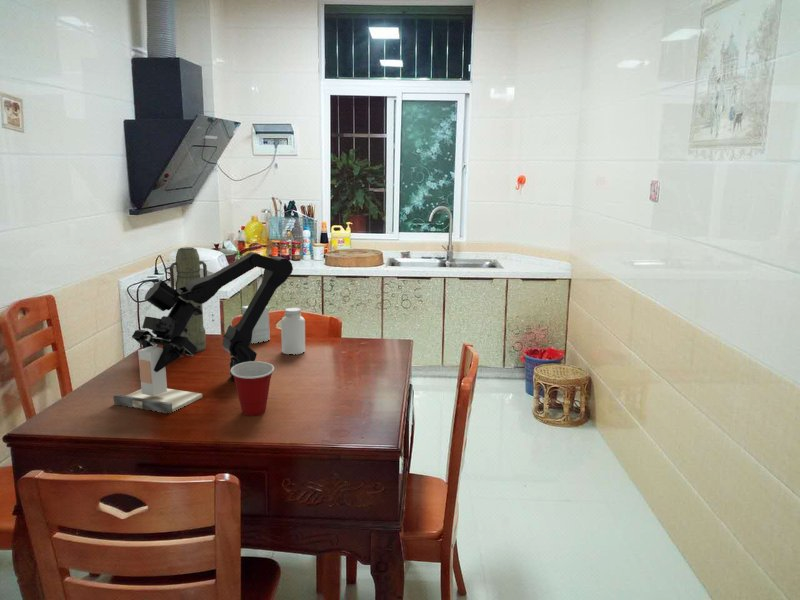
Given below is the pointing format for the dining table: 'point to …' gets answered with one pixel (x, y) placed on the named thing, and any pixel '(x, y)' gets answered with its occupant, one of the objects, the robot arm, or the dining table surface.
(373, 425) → the dining table surface
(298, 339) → the pill bottle
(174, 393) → the shelf board
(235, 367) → the plastic cup
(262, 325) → the supplement box
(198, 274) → the thermos
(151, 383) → the grey carton
